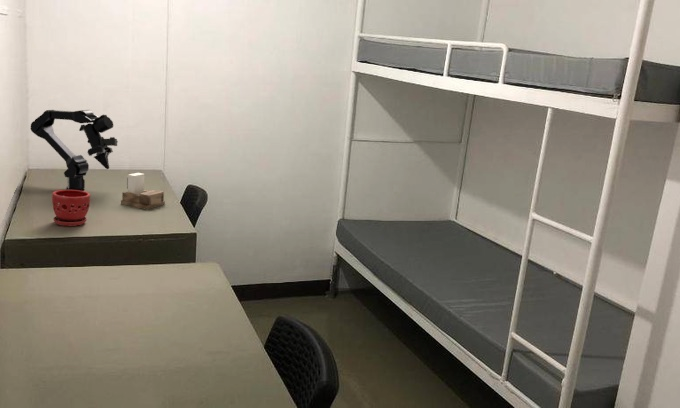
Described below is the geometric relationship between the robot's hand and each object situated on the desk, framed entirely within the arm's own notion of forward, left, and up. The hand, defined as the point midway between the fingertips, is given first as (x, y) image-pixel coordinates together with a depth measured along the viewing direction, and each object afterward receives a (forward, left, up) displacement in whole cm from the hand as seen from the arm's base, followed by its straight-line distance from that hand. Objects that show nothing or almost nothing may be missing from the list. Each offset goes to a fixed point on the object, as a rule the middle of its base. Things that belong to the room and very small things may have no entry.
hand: (108, 168), depth 281 cm
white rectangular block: (+7, -15, -10) cm, 20 cm away
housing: (+9, -18, -12) cm, 24 cm away
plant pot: (-25, -40, -12) cm, 49 cm away
